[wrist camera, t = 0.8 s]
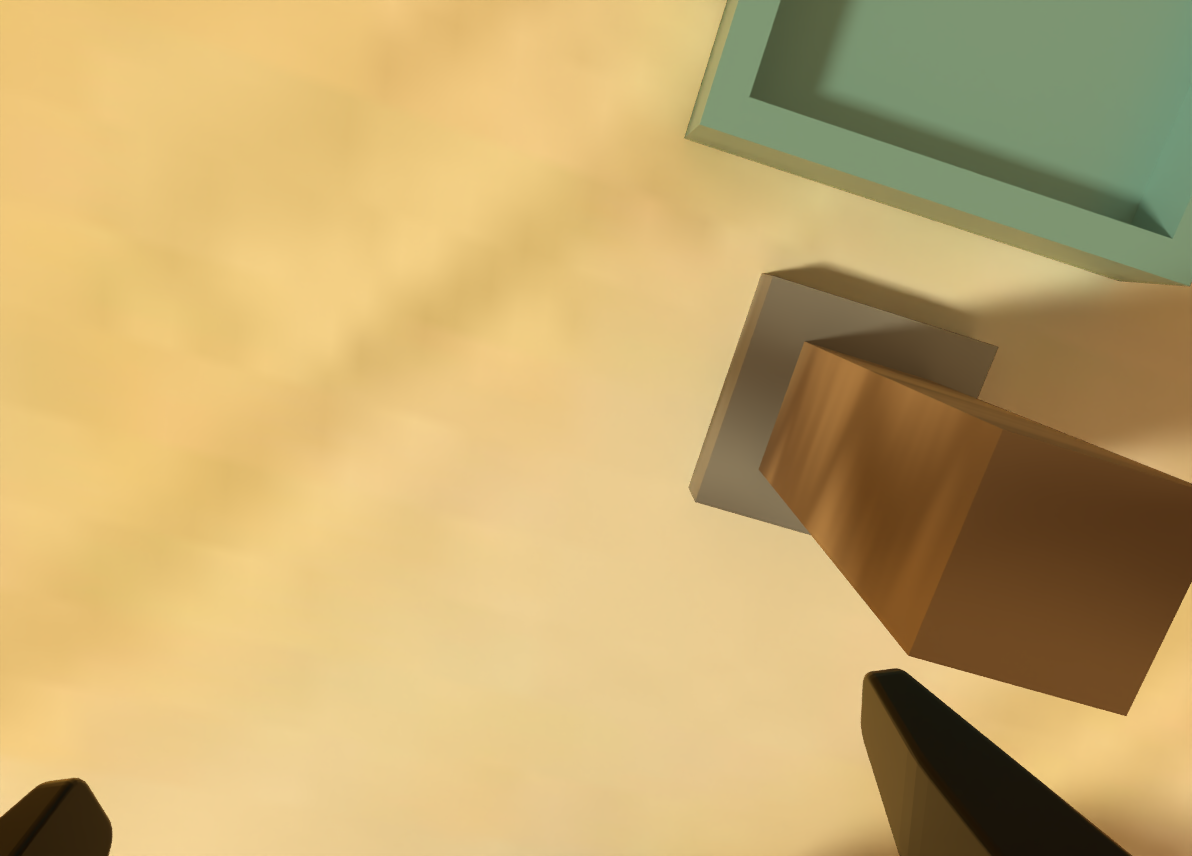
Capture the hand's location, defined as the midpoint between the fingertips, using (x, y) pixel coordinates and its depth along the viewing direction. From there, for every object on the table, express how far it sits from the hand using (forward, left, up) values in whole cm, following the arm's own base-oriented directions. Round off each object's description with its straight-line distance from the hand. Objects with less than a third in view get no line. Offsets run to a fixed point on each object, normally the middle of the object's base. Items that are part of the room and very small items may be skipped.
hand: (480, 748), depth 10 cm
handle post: (-3, -9, -17) cm, 19 cm away
